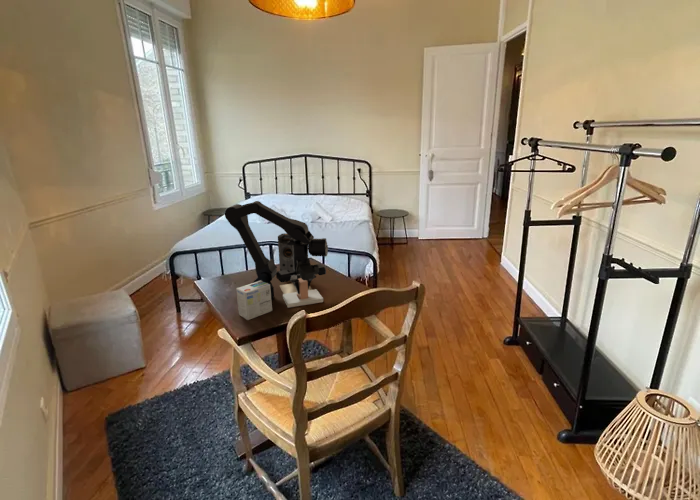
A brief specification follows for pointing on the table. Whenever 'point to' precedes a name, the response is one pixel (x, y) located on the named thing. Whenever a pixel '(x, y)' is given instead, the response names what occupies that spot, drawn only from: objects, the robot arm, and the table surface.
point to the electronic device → (285, 253)
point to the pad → (289, 288)
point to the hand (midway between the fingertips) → (302, 293)
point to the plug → (303, 289)
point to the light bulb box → (254, 299)
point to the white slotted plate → (294, 301)
